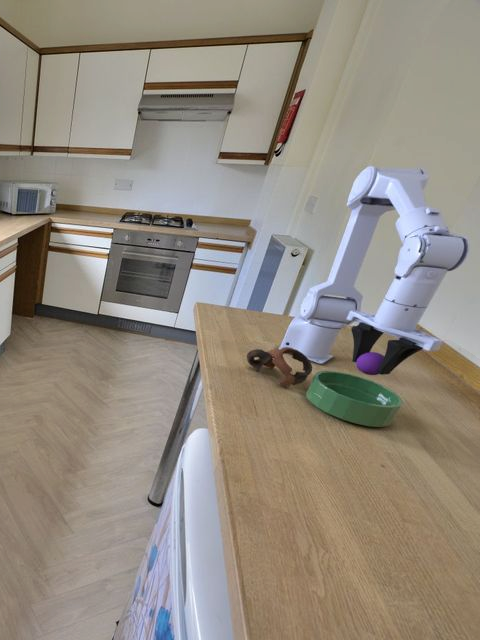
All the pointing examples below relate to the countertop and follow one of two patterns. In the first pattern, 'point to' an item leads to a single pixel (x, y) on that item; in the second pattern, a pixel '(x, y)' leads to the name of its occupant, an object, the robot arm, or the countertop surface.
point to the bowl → (354, 398)
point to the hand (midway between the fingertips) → (370, 367)
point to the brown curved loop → (281, 364)
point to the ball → (369, 362)
